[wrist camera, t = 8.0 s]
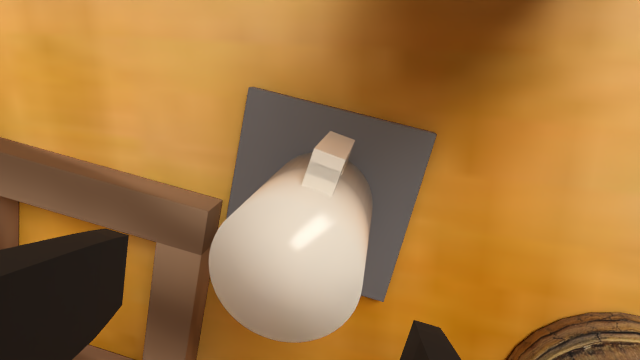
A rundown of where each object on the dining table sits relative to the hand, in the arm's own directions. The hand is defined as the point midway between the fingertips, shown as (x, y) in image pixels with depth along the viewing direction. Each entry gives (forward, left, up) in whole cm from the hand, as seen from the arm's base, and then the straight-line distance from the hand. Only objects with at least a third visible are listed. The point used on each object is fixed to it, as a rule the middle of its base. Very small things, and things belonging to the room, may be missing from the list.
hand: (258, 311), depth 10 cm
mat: (0, 0, -9) cm, 9 cm away
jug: (0, 0, -9) cm, 9 cm away
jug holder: (-8, +11, -9) cm, 16 cm away
